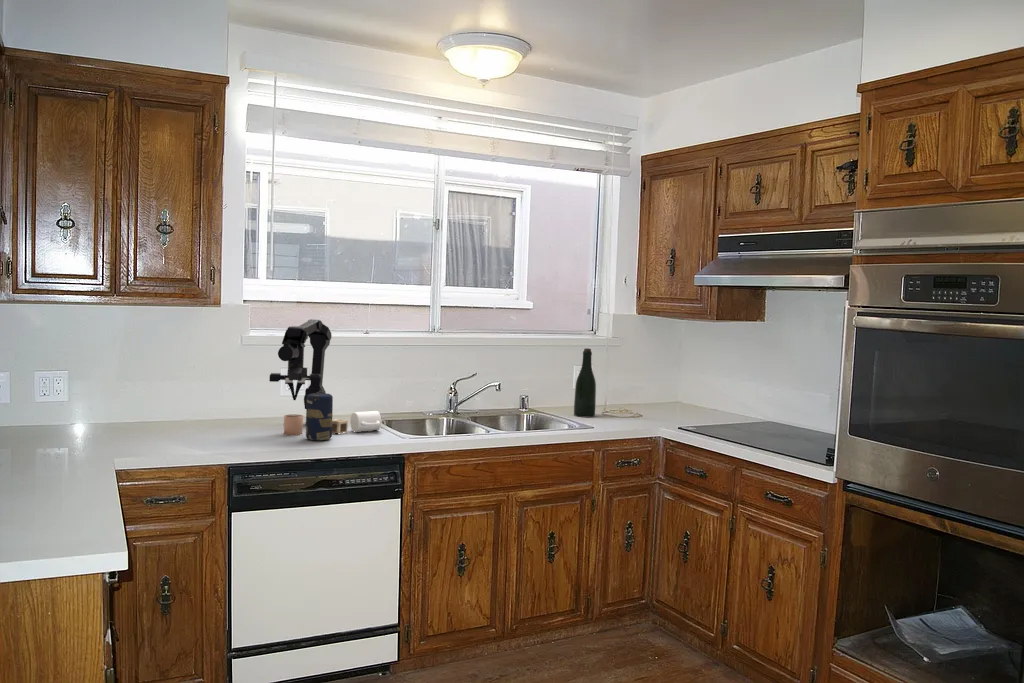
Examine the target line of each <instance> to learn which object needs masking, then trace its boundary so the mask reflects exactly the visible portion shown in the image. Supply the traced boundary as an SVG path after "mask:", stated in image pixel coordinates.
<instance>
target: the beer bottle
mask: <svg viewBox="0 0 1024 683" xmlns="http://www.w3.org/2000/svg"><path fill="white" fill-rule="evenodd" d="M592 356H593V351H592V349H591V348H583V351H582V363H581V368H580V371H579V373H578V376H577V378H576V380H575V388H574V402H573V415H574V416H575V415H577V416H576V417H579V416H594V417H595V415H596V399H597V381H596V377H595V375H594V370H593V366H592V359H593V358H592Z"/></svg>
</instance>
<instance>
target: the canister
mask: <svg viewBox="0 0 1024 683" xmlns="http://www.w3.org/2000/svg"><path fill="white" fill-rule="evenodd" d="M333 400H334V397H333V395H332V394H331V393H327V392H326V393H324V392H321V391H319V392H317V393H312V394H309V395H307V405H306V409H305V410H306V411H305V412H306V413H305V415H306V416H305V422H306V424H305V438H306V439H308V440H309V441H310V440H311V441H327V440H330V439H332V437H333V436H332V435H333V434H332V420H333V415H334V414H333V412H334V411H333Z"/></svg>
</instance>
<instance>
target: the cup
mask: <svg viewBox="0 0 1024 683" xmlns="http://www.w3.org/2000/svg"><path fill="white" fill-rule="evenodd" d="M303 430H304V415H303V414H293V413H291V414H284V415H283V435H284V434H286V435H285V436H291V435H294V436H301V435H300V434H302V435H303V432H304V431H303Z"/></svg>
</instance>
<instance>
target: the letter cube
mask: <svg viewBox="0 0 1024 683" xmlns="http://www.w3.org/2000/svg"><path fill="white" fill-rule="evenodd" d="M348 422H349V421H348V420H346V419H341V418H336V419H332V433H343V432H347V433H348V426H349V425H348V424H349V423H348Z"/></svg>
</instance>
